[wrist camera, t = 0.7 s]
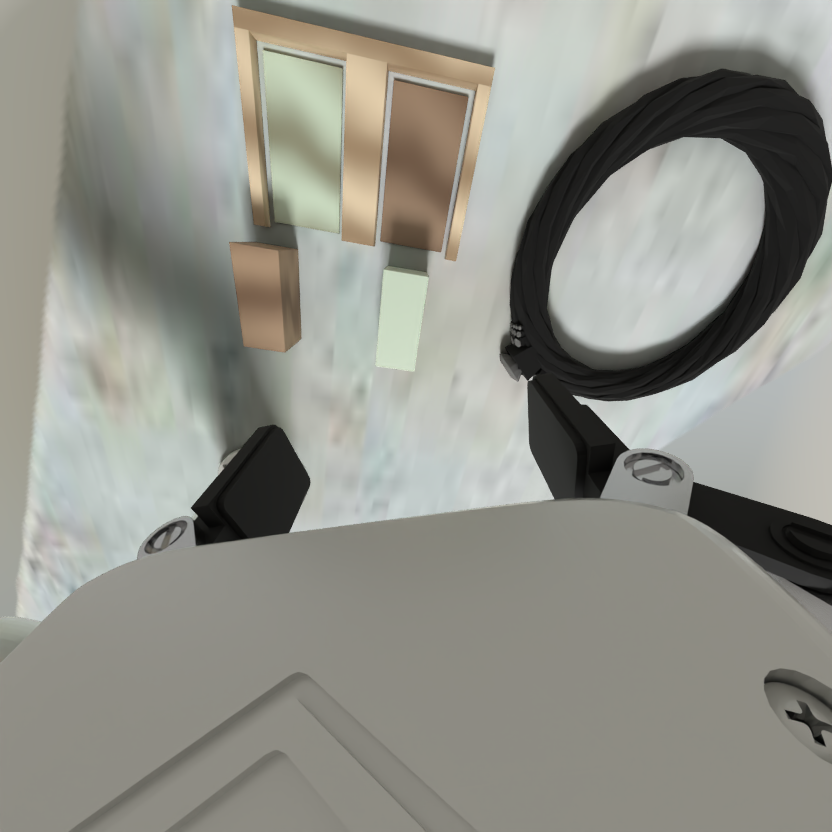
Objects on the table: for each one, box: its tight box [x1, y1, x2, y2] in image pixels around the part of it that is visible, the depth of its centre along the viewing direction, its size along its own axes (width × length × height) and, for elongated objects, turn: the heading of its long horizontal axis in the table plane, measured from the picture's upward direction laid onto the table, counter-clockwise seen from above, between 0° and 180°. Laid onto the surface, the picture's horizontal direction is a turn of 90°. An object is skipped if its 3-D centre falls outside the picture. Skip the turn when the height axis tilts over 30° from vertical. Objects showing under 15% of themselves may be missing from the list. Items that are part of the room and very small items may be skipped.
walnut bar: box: [229, 242, 301, 352], centre depth 29 cm, size 9×4×5 cm, turn 171°
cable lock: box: [500, 69, 832, 401], centre depth 29 cm, size 28×4×30 cm
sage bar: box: [376, 266, 429, 372], centre depth 30 cm, size 9×4×5 cm, turn 171°
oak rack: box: [232, 5, 495, 261], centre depth 25 cm, size 13×19×1 cm
